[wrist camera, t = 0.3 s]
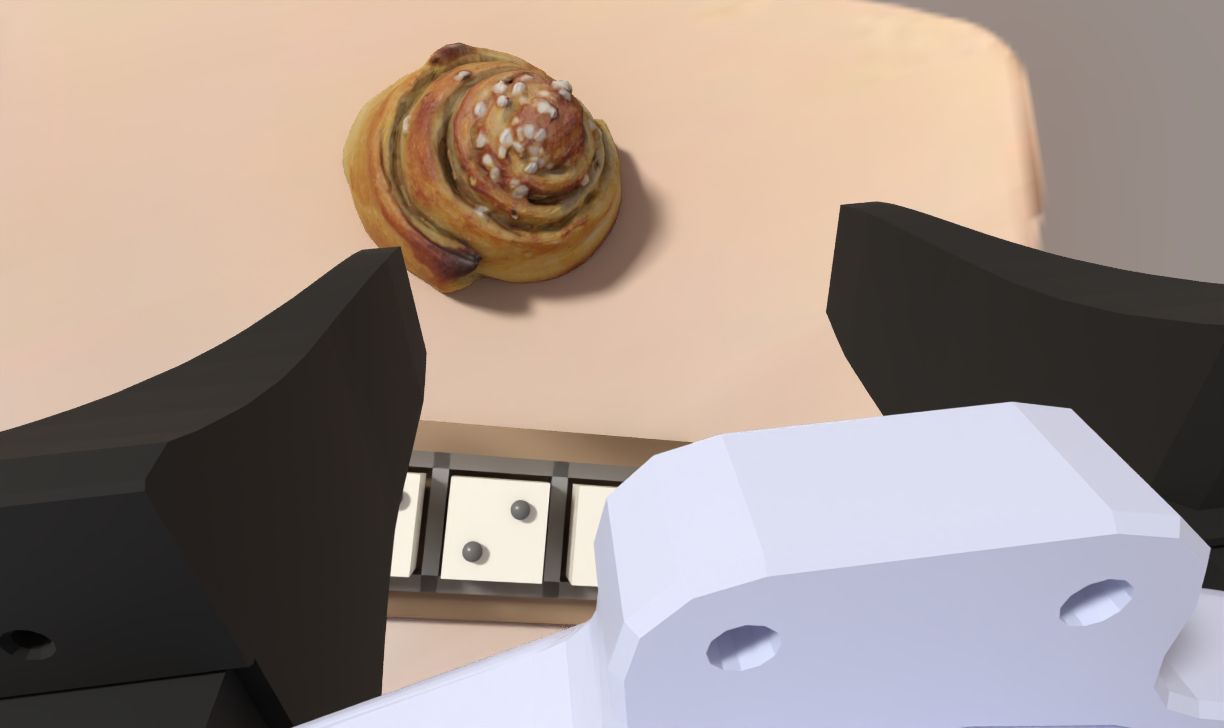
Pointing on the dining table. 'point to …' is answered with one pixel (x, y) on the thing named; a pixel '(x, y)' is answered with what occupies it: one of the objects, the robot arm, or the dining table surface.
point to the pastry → (483, 171)
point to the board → (519, 459)
